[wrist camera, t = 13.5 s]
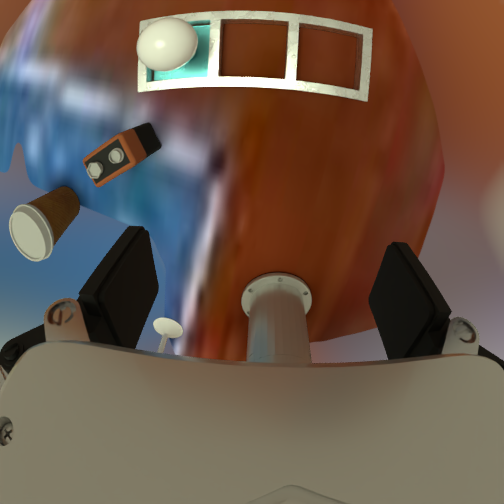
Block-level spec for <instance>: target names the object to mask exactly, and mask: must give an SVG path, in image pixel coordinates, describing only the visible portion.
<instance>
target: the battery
mask: <svg viewBox="0 0 504 504" xmlns="http://www.w3.org/2000/svg"><path fill="white" fill-rule="evenodd" d="M160 148H161V144H160V142H159V140H158V138H157V136H156V134H155V132H154V130H153V128H152V126H151V124H150V123H145V124H142V125H140V126H137V127H134V128H132V129H129V130H126V131H124V132H121V133H119V134H117V135H116V136H114V137H113V138H111V139H110V140H108V141H107V142H105V143H104V144H102V145H101V146H100V147H98V148H97V149H95V150H94V151H93V152H91V153H90V154H89V155H87V156H86V157H85V158H84V159H83V163H84V165H85V167H86V169H87V173H88V175H89V176H90V178H92V180H93V182H94V184H95V185H96V187H101V186H102V185H104V184H106V183H107V182H109V181H110V180H112V179H114V178H115V177H117V176H119V175H120V174H122V173H123V172H125V171H127V170H129V169H130V168H132V167H134V166H135V165H137V164H138V163H139V162H141V161H142V160H144V159H145V158H147V157H148V156H150V155H151V154H153V153H154V152H156V151H157V150H159V149H160Z"/></svg>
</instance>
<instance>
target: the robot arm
mask: <svg viewBox="0 0 504 504" xmlns="http://www.w3.org/2000/svg"><path fill="white" fill-rule="evenodd" d="M158 288H159V285H158V280H157V275H156V270H155V265H154V260H153V254H152V248H151V243H150V237H149V232H148V231H147V230H145V229H144V227H143V226H129V227H128V228H127V229H126V230H125V231H124V233H123V234H122V235H121V236H120V237H119V239H118V240H117V241H116V243H115V244H114V245H113V246H112V248H111V249H110V250H109V252H108V253H107V254H106V256H105V257H104V258H103V260H102V261H101V262H100V264H99V265H98V266H97V268H96V269H95V271H94V272H93V273H92V275H91V276H90V277H89V279H88V280H87V282H86V283H85V285H84V286H83V288H82V289H81V290H80V292H79V295H80V296H79V298H78V299H77V301H76V300H75V299H71V298H63V299H60V300H57V301H55V302H54V303H53V304H51V305H50V306H49V307H48V309H47V310H46V312H45V315H44V324H42V325H40V326H38V327H36V328H34V329H32V330H30V331H28V332H25V333H23V334H21V335H19V336H17V337H15V338H13V339H11V340H10V341H8V342H7V343H6V344H5V345H4V346H3V347H2V349H1V352H0V504H504V361H503V360H501V359H500V358H498V357H497V356H495V355H494V354H492V353H491V352H489V351H488V350H486V349H485V348H483V347H482V346H480V345H479V333H478V331H477V329H476V328H475V326H474V325H473V324H472V323H471V322H469V321H468V320H467V319H464V318H461V317H455V318H453V319H451V321H450V319H449V315H450V314H451V312H452V311H451V309H450V308H449V306H448V304H447V303H446V301H445V299H444V298H443V296H442V295H441V293H440V291H439V290H438V288H437V287H436V285H435V283H434V282H433V280H432V279H431V277H430V276H429V274H428V273H427V271H426V270H425V268H424V267H423V265H422V264H421V262H420V261H419V260H418V258H417V257H416V255H415V254H414V253H413V251H412V250H411V248H410V247H409V246H408V244H407V243H403V242H392V243H391V245H388V246H387V249H386V252H385V255H384V257H383V260H382V263H381V266H380V269H379V272H378V274H377V277H376V280H375V282H374V285H373V288H372V290H371V293H370V295H369V305H370V308H371V311H372V313H373V316H374V319H375V322H376V324H377V327H378V330H379V333H380V336H381V338H382V341H383V345H384V348H385V350H386V354H387V357H388V360H380V361H367V362H348V363H312V361H311V354H310V345H309V337H308V330H307V322H306V314H307V312H308V311H309V309H310V307H311V303H312V296H311V292H310V289H309V287H308V285H307V284H306V283H305V282H304V281H303V280H301V279H300V278H298V277H296V276H294V275H291V274H287V273H279V272H278V273H269V274H264V275H262V276H259V277H257V278H255V279H254V280H252V281H251V282H250V283H249V284H248V285H247V286H246V287H245V289H244V291H243V293H242V301H241V304H242V308H243V310H244V312H245V313H246V315H247V316H248V317H249V327H248V342H247V358H246V362H243V361H229V360H216V359H206V358H196V357H187V356H179V355H170V354H164V353H156V352H151V351H144V350H137V349H135V348H136V345H137V342H138V340H139V337H140V335H141V332H142V330H143V327H144V325H145V322H146V320H147V317H148V315H149V312H150V310H151V308H152V305H153V303H154V301H155V298H156V296H157V293H158Z"/></svg>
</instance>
